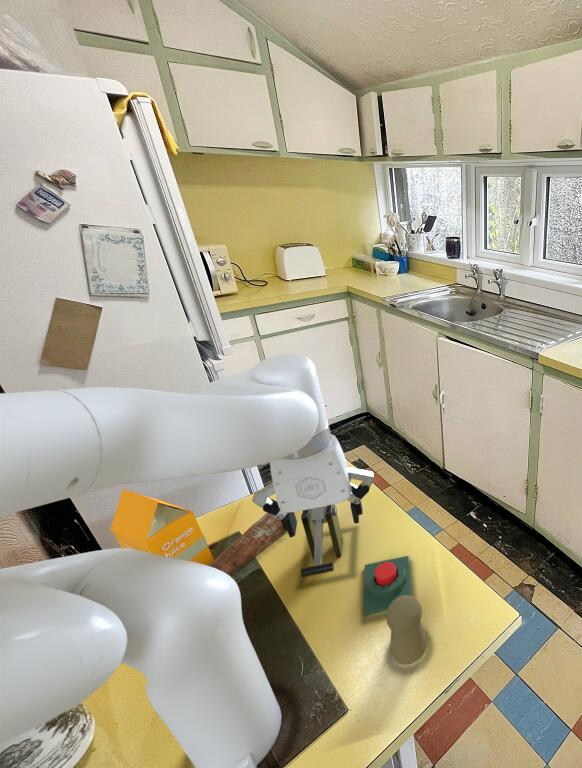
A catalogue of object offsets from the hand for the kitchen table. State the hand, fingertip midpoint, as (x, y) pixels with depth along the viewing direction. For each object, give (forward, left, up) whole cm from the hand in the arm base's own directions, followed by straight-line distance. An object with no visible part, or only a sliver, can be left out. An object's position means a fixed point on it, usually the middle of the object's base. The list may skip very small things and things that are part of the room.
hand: (325, 523), depth 67 cm
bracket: (+9, +3, -17) cm, 19 cm away
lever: (+5, +3, -8) cm, 10 cm away
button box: (-2, -8, -17) cm, 18 cm away
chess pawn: (-14, -11, -17) cm, 25 cm away
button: (-2, -8, -13) cm, 15 cm away
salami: (+12, +18, -17) cm, 27 cm away
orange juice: (+11, +29, -17) cm, 35 cm away
